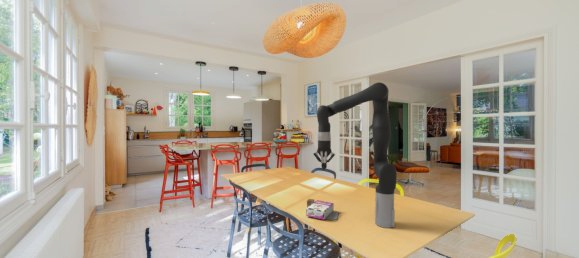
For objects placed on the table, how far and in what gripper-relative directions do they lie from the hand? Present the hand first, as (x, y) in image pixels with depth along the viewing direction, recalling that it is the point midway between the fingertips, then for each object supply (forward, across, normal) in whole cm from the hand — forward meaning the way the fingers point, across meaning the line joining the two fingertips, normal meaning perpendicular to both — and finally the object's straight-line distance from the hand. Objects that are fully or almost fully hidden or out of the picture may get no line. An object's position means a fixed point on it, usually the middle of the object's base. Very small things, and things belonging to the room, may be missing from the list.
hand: (324, 169), depth 139 cm
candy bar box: (+24, 0, +8) cm, 25 cm away
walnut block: (+27, -11, +13) cm, 32 cm away
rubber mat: (+27, 0, 0) cm, 27 cm away
